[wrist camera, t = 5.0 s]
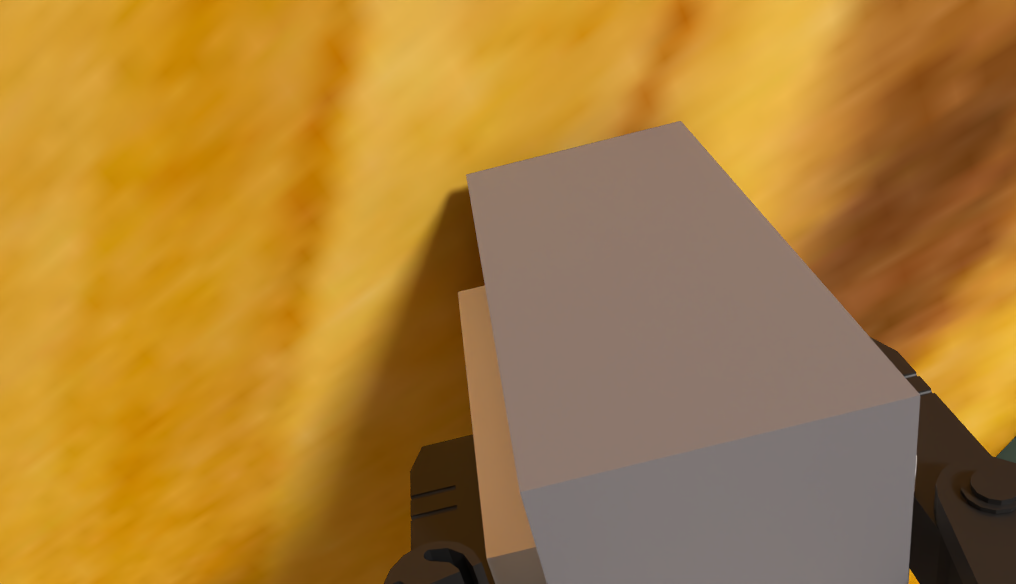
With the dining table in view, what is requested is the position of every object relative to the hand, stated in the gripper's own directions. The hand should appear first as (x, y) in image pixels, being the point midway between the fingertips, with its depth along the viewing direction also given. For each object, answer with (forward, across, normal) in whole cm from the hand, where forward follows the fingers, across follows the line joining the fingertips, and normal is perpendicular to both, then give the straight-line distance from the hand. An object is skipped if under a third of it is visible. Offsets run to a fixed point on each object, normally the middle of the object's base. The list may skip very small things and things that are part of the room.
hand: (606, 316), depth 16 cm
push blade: (0, 0, -7) cm, 8 cm away
